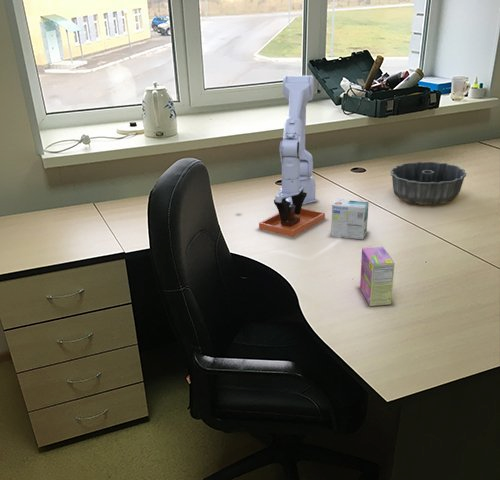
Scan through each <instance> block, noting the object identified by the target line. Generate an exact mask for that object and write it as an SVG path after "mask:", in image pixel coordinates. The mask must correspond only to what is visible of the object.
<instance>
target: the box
mask: <svg viewBox="0 0 500 480" xmlns="http://www.w3.org/2000/svg"><path fill="white" fill-rule="evenodd" d="M360 259H361V260H360V261H361V262H360V279H359V280H360V281H359V289H360V291H361V292H362V294H363V296H364V299H365V300H366V302H367V304H368V305H369V307H377V306H389V305H392V298H393V297H392V296H393V286H394V276H395V267H396V266H395V265H396V263H395V261H394V260H393V258H392V257H391V256H390V254H389V253H388V252H387V250H386V249H385V248H384V246H372V247H371V246H370V247H362V248H361V258H360Z"/></svg>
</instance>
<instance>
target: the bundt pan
mask: <svg viewBox="0 0 500 480" xmlns="http://www.w3.org/2000/svg"><path fill="white" fill-rule="evenodd" d="M465 171H466V170H465V169H464V168H461V167H460V166H458V165H455V164H450V163H447V162H437V161H416V162H405V163H402V164H400V165H395V167H393V168H391V169H390V176H392V177H391V181H392V191H393V193H394V195H395V196H396V198H399V199H400V200H401V201H404V202H409V203H410V204H411V205H414V204H418V205H420V206H424V205H428V204H429V205H430V206H434V205H436V204H438V205H442V204H445V203H450V202H451V201H454V200H455V199H456V197H457V196H458V195H459V194H460V192H461V190H462V186H463V183H464V180H465V178H466V177H467V172H465Z"/></svg>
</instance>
